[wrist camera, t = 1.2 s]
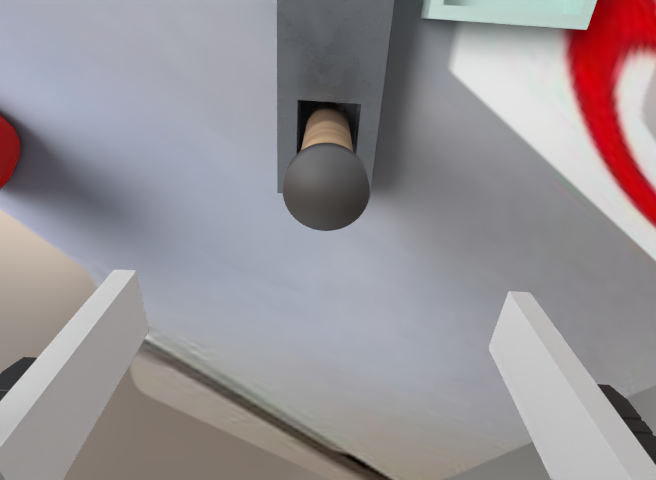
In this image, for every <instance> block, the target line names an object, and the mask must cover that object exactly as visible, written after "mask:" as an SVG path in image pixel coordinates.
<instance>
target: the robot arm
mask: <svg viewBox="0 0 656 480" xmlns="http://www.w3.org/2000/svg"><path fill="white" fill-rule="evenodd" d="M148 332H149V326H148V322H147V317H146V312H145V308H144V303H143V299H142V294H141V289H140V285H139V280H138V275H137V271H134V270H116V269H114V270H113V271H112V272H111V274H110V275H109V276H108V277H107V278H106V279H105V281H104V282H103V283H102V284H101V285H100V286H99V288H98V289H97V290H96V291H95V292H94V293H93V294H92V296H91V297H90V298H89V299H88V300H87V301H86V303H85V304H84V305H83V306H82V307H81V308H80V310H79V311H78V312H77V313H76V314H75V316H73V318H72V319H71V320H70V321H69V322H68V323H67V325H66V326H65V327H64V328H63V329H62V330H61V332H60V333H59V334H58V335H57V336H56V337H55V339H54V340H53V341H52V342H51V343H50V344H49V345H48V347H47V348H46V349H45V350H44V351H43V352H42V354H41V355H40V356H39V357H38V358H31V357H30V358H29V357H23V358H22V359H20V360H19V361H18V362H16V363H14V364H13V365H11V366H10V367H9V368H7V369H6V370H4V371H3V372H2V373H1V374H0V480H63V478H64V476H65V475H66V473H67V471H68V469H69V468H70V466H71V464H72V463H73V461H74V459H75V457H76V456H77V454H78V452H79V451H80V449H81V447H82V445H83V444H84V442H85V440H86V439H87V437H88V435H89V433H90V432H91V430H92V428H93V426H94V425H95V423H96V421H97V420H98V418H99V416H100V414H101V413H102V411H103V409H104V408H105V406H106V404H107V402H108V401H109V399H110V397H111V396H112V394H113V392H114V390H115V388H116V387H117V385H118V383H119V382H120V380H121V378H122V377H123V375H124V373H125V371H126V370H127V368H128V366H129V364H130V363H131V361H132V359H133V358H134V356H135V354H136V353H137V351H138V349H139V347H140V346H141V344H142V342H143V340H144V339H145V337H146V335H147V334H148ZM488 348H489V351H490V353H491V355H492V357H493V359H494V361H495V363H496V365H497V367H498V369H499V371H500V374H501V376H502V378H503V380H504V382H505V384H506V386H507V388H508V390H509V392H510V394H511V397H512V399H513V401H514V403H515V405H516V407H517V409H518V411H519V413H520V415H521V417H522V419H523V422H524V424H525V426H526V428H527V430H528V432H529V434H530V436H531V438H532V440H533V442H534V445H535V447H536V449H537V451H538V453H539V455H540V457H541V459H542V461H543V463H544V465H545V467H546V470H547V472H548V474H549V476H550V478H551V480H656V436H653V434H652V433H653V432H652V431H651V429H650V428H649V427H648V426H647V424H646V423H645V422H644V421H642V420H641V417H640V415H639V414H638V413H637V412H636V410H635V409H634V408H633V406H632V405H631V404H630V403H629V401H628V400H627V399H626V398H624V397H623V396H622V395H621V394H620V393H618V392H617V391H616V390H615V389H613V388H612V387H611V386H610V385H600V384H596V382H595V381H594V380H593V378H592V377H591V376H590V374H589V373H588V371H587V370H586V369H585V367H584V366H583V365H582V363H581V362H580V360H579V359H578V358H577V356H576V355H575V354H574V352H573V351H572V350H571V348H570V347H569V345H568V344H567V343H566V341H565V340H564V339H563V337H562V336H561V334H560V333H559V332H558V330H557V329H556V328H555V326H554V325H553V323H552V322H551V321H550V319H549V318H548V317H547V315H546V314H545V312H544V311H543V310H542V308H541V307H540V306H539V304H538V303H537V301H536V300H535V299H534V297H533V296H532V295H531V293H530V292H514V291H509V292H508V295H507V297H506V300H505V303H504V306H503V308H502V311H501V314H500V317H499V319H498V322H497V325H496V328H495V330H494V333H493V336H492V339H491V341H490V344H489V347H488Z"/></svg>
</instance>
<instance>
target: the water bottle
mask: <svg viewBox="0 0 656 480" xmlns="http://www.w3.org/2000/svg"><path fill="white" fill-rule="evenodd" d="M19 157H20V140H19V138H18V136H17V133H16V131H15V129H14V128H13V127H12V126H11V125H10V124H9V123H8V122H7V121H6V120H5V119H4V118H3V117H2V116H0V189H1V188H2V187H3V186H4V185H5V184H6V183H7V181H8V180H9V179H10V178H11V176H12V175H13V171H14V168H15V166H16V164H17V162H18V160H19Z"/></svg>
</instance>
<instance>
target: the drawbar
mask: <svg viewBox="0 0 656 480" xmlns="http://www.w3.org/2000/svg"><path fill="white" fill-rule="evenodd" d="M393 8H394V0H277V152H278V193H283V183H284V179H285V175H286V172H287V169H288V166H289V164H290V162H291V161H292V159H293V158H294V157H295V156H296V155H297V154H298V153H299V152H300V151H301V149H299V140H300V101H301V100H308V101H323V102H338V103H353V104H358V105H357V115H356V126H355V136H354V146H353V152H354V153H355V154H356V155H357V156H358V157H359V158H360V160H361V161H362V163H363V164H364V166H365V169H366V172H367V177H368V181H369V186H370V192H371V184H372V176H373V168H374V160H375V152H376V144H377V136H378V128H379V120H380V112H381V104H382V96H383V88H384V80H385V72H386V64H387V56H388V48H389V40H390V32H391V24H392V16H393ZM369 198H370V195H369Z"/></svg>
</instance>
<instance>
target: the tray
mask: <svg viewBox="0 0 656 480" xmlns="http://www.w3.org/2000/svg"><path fill="white" fill-rule="evenodd" d="M596 2H597V0H423V5H422V11H421V18H424V19H438V20H452V21H466V22H480V23H494V24H508V25H522V26H535V27H549V28H563V29H582V30H587V28H588V25H589V22H590V19H591V16H592V13H593V11H594V8H595V5H596Z"/></svg>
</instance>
